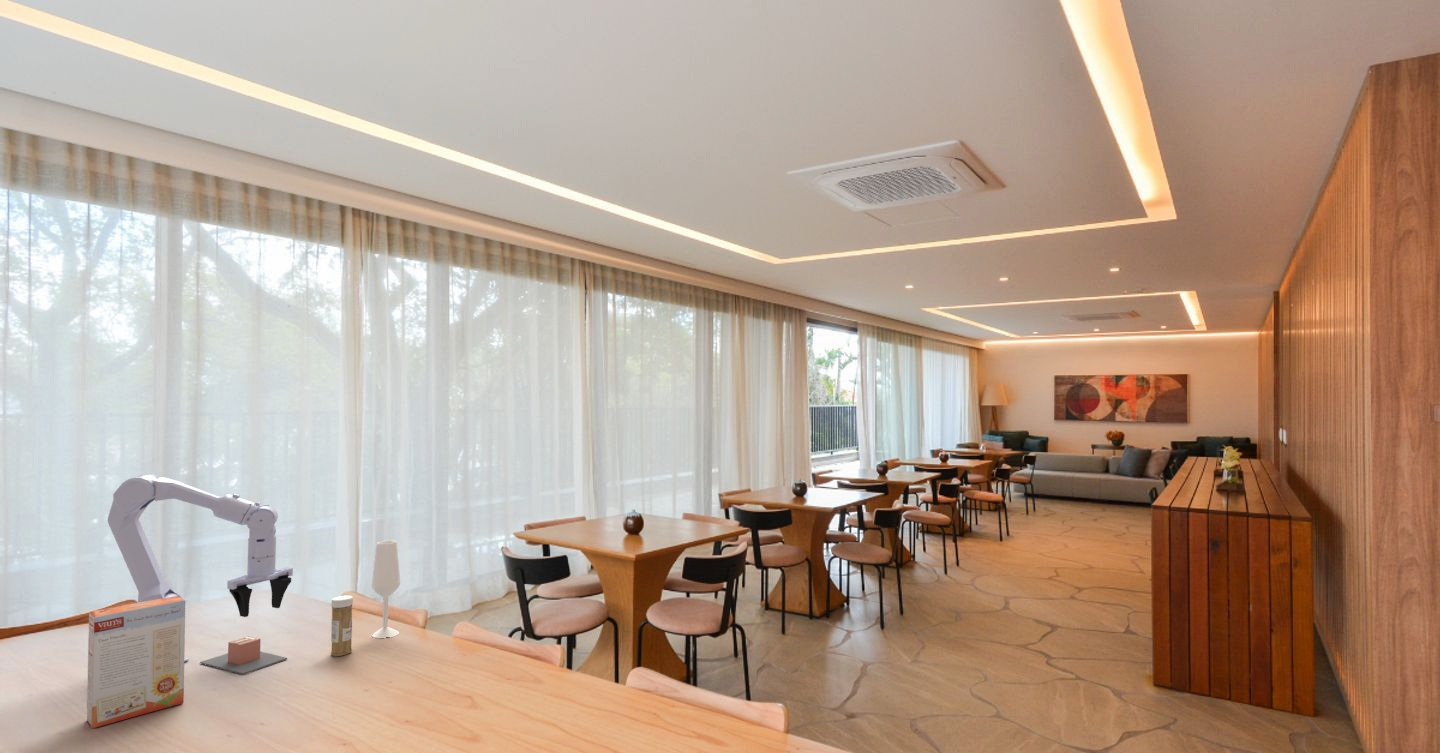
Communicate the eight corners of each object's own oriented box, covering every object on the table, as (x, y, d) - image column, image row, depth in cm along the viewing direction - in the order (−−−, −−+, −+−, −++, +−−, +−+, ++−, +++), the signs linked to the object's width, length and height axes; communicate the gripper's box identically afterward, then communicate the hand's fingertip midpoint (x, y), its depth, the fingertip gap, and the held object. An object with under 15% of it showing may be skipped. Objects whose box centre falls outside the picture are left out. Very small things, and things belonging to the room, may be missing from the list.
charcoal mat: (199, 663, 158) (200, 661, 159) (244, 649, 168) (245, 647, 168) (242, 674, 152) (242, 673, 152) (287, 659, 161) (287, 657, 161)
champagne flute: (364, 637, 176) (366, 543, 177) (384, 629, 183) (386, 538, 184) (385, 639, 174) (387, 545, 175) (405, 631, 181) (406, 540, 182)
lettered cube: (227, 661, 159) (228, 641, 159) (247, 655, 163) (248, 635, 163) (240, 664, 157) (240, 644, 157) (260, 658, 161) (260, 638, 161)
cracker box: (176, 696, 141) (179, 593, 142) (184, 704, 137) (187, 599, 138) (84, 720, 130) (88, 609, 131) (90, 730, 126) (94, 615, 127)
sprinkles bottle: (352, 654, 164) (353, 598, 165) (331, 658, 162) (332, 601, 162) (350, 648, 168) (352, 593, 169) (329, 652, 166) (330, 596, 166)
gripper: (240, 563, 160) (239, 622, 159) (301, 551, 173) (299, 605, 172) (222, 560, 162) (220, 618, 162) (283, 549, 176) (281, 602, 175)
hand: (260, 611), depth 167 cm, fingers open, 7 cm apart
